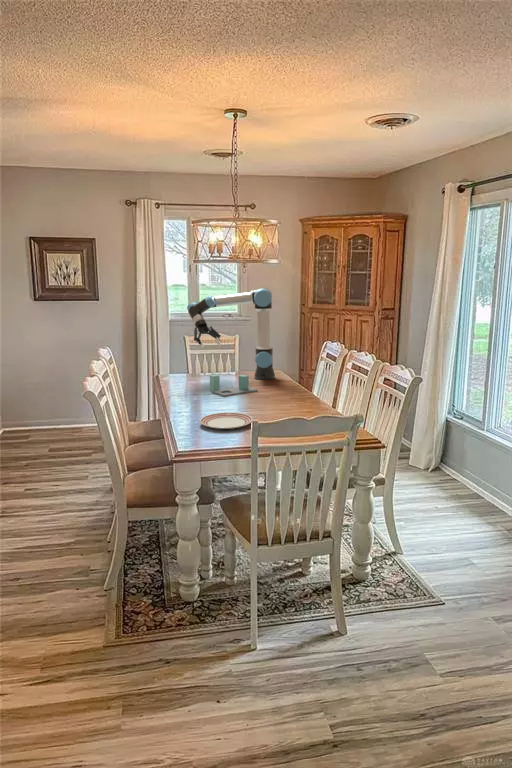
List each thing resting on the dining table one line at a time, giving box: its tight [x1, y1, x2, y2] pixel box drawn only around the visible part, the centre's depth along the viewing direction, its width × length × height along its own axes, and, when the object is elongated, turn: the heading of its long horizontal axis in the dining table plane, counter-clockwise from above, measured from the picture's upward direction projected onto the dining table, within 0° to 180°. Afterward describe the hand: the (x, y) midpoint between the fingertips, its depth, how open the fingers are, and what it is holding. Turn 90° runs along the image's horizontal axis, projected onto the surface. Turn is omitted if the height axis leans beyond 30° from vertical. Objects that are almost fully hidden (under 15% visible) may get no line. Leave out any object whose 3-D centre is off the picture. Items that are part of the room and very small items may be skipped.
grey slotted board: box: [211, 386, 258, 398], centre depth 384 cm, size 26×14×1 cm, turn 127°
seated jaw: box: [238, 374, 250, 390], centre depth 387 cm, size 5×5×10 cm
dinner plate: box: [199, 412, 254, 430], centre depth 309 cm, size 27×27×3 cm
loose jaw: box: [209, 374, 221, 391], centre depth 389 cm, size 5×5×10 cm
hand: (212, 346), depth 396 cm, fingers open, 13 cm apart
